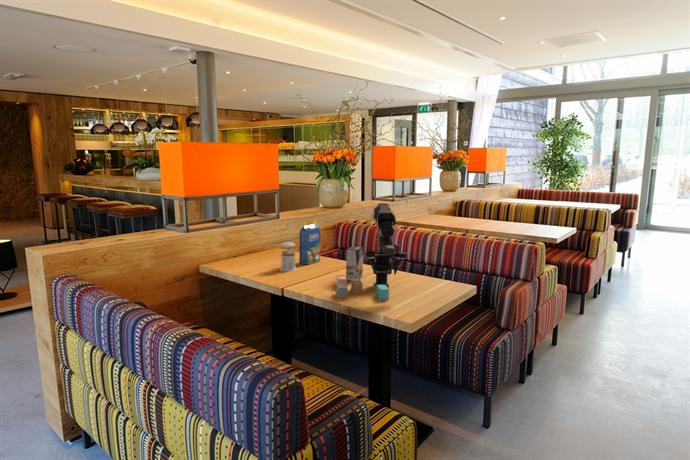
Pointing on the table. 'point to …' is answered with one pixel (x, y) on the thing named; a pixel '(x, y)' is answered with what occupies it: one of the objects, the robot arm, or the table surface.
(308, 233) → the blue food package
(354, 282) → the walnut brick
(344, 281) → the terracotta brick
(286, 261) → the french press
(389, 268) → the robot arm
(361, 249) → the coffee box
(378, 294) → the teal brick
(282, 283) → the table surface
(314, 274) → the table surface
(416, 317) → the table surface
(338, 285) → the charcoal brick
